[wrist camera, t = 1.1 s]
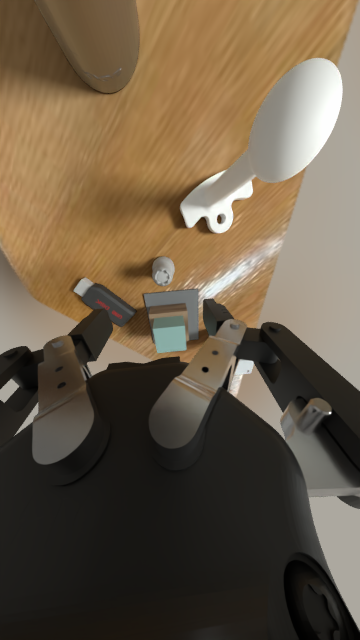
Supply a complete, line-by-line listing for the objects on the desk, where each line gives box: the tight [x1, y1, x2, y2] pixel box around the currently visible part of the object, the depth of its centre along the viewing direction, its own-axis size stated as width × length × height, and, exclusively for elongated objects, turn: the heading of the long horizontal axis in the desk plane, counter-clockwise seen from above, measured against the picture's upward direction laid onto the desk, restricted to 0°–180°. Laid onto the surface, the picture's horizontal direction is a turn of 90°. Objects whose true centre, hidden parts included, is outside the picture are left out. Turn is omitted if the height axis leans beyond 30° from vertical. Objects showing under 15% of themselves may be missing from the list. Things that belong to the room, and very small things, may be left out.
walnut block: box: [149, 303, 189, 345], centre depth 33 cm, size 8×8×4 cm
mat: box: [144, 289, 198, 344], centre depth 35 cm, size 14×12×1 cm
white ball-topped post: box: [180, 58, 342, 233], centre depth 16 cm, size 11×8×20 cm
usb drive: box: [74, 277, 137, 327], centre depth 31 cm, size 5×12×3 cm, turn 44°
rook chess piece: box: [152, 256, 175, 286], centre depth 26 cm, size 4×4×8 cm
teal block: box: [153, 315, 186, 353], centre depth 30 cm, size 6×6×4 cm
